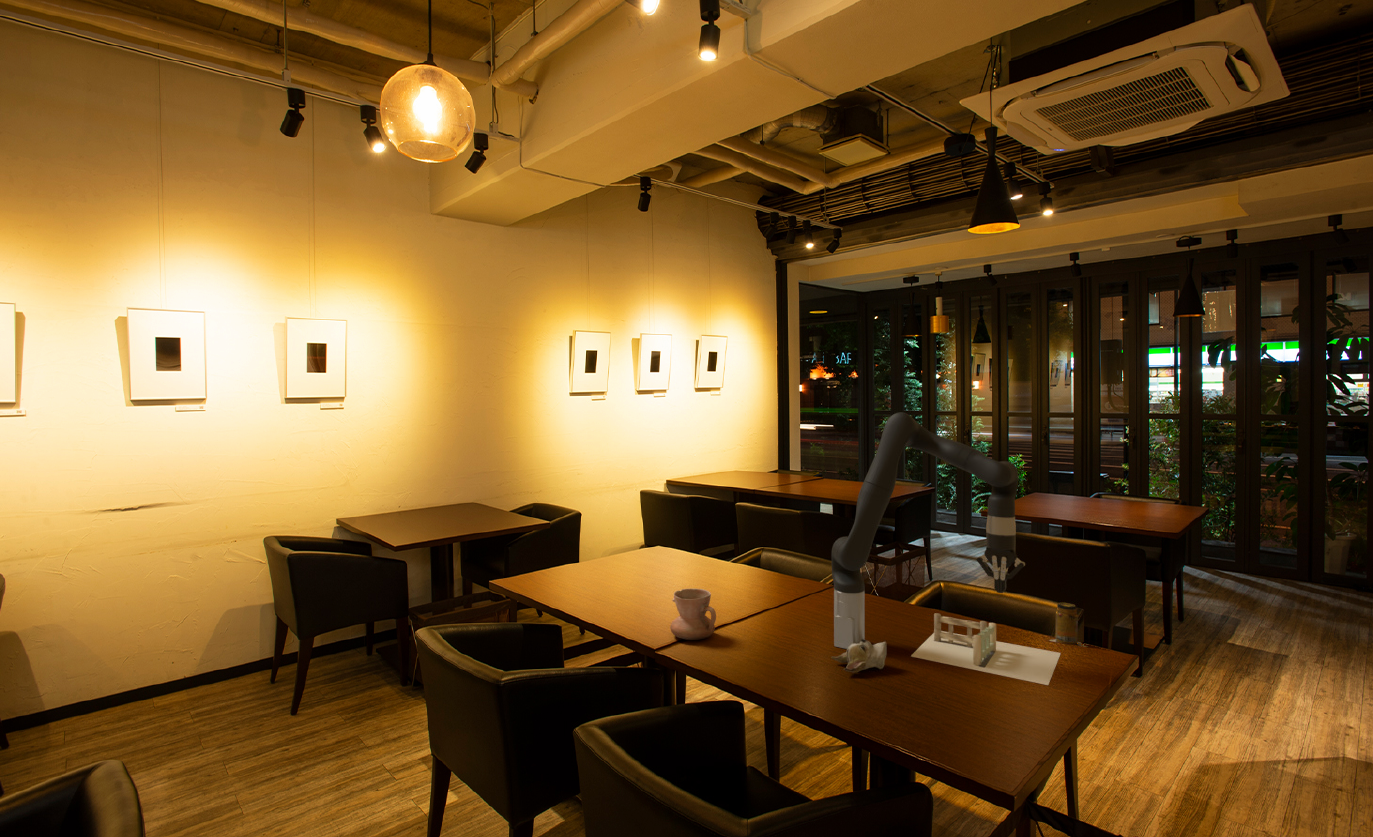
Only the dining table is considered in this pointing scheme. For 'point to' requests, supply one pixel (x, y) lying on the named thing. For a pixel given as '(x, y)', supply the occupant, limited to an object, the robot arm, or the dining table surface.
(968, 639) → the fence fixed
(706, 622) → the ceramic jug
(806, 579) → the dining table surface
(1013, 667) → the card
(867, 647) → the ceramic sculpture
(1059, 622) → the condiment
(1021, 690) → the dining table surface
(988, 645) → the fence gate
